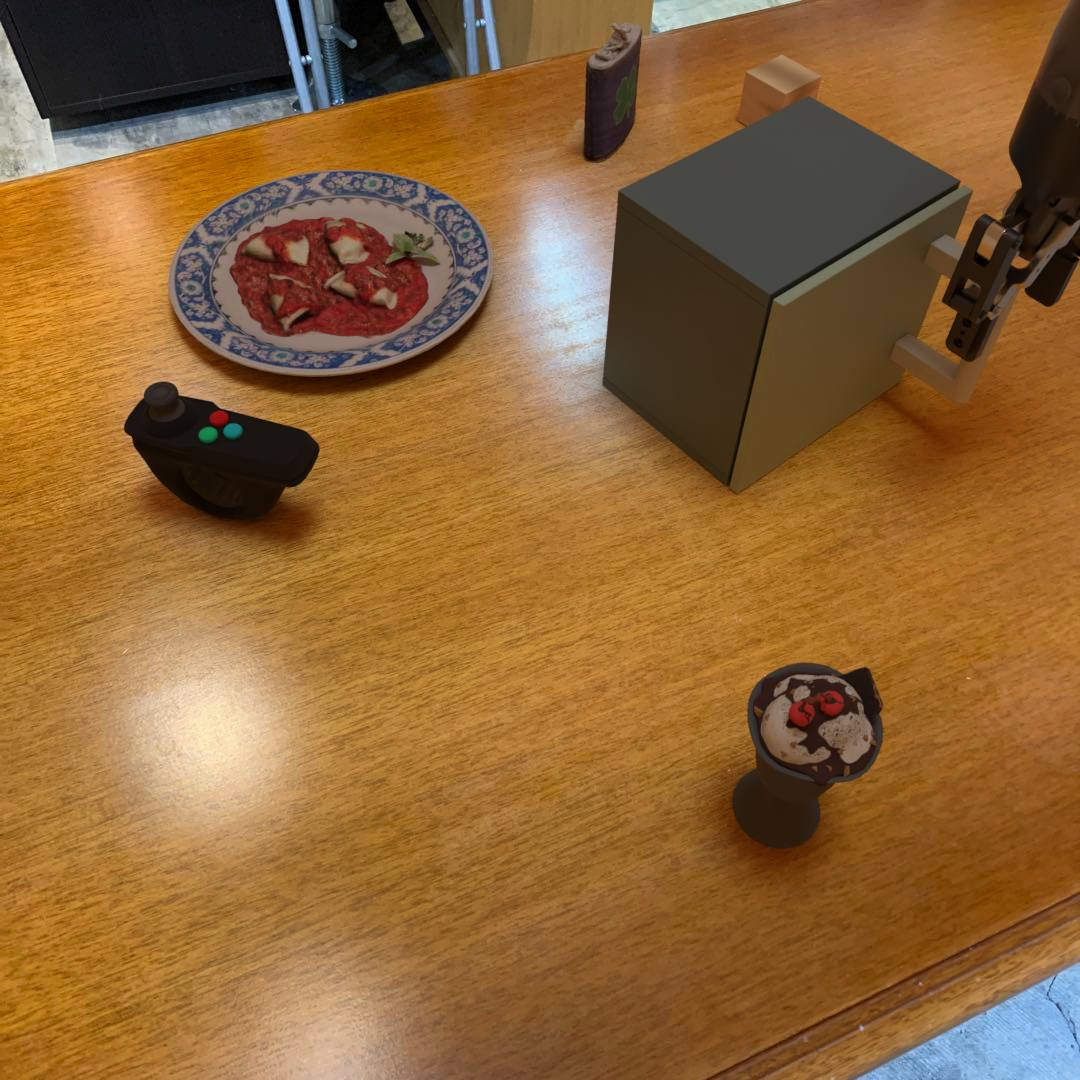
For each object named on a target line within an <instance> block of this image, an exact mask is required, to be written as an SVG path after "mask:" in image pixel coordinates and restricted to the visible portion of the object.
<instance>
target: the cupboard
mask: <svg viewBox="0 0 1080 1080" xmlns="http://www.w3.org/2000/svg"><path fill="white" fill-rule="evenodd" d="M961 182H962V180H961V179H958V178H957V177H955V176H953V175H952V174H949V173H948V172H946V171H944V170H943V169H941V168H939V167H937V166H936V165H933V164H932V163H930V162H928V161H926V160H924V159H923V158H921V157H919V156H918V155H915V154H914V153H912V152H910V151H908V150H907V149H905V148H903V147H901V146H899V145H898V144H896V143H894V142H892V141H890V140H889V139H887V138H886V137H884V136H881V135H880V134H878V133H876V132H875V131H873V130H871V129H869V128H867V127H866V126H864V125H862V124H860V123H858V122H857V121H855V120H853V119H852V118H849V117H847V116H846V115H844V114H842V113H840V112H839V111H838V110H835V109H833V108H831V107H830V106H828V105H826V104H824V103H823V102H820V101H819V100H818V99H816V100H815V99H814V98H812V97H810V96H807V97H805V98H803V99H801V100H799V101H797V102H795V103H793V104H791V105H789V106H787V107H785V108H783V109H781V110H779V111H777V112H775V113H773V114H771V115H769V116H767V117H765V118H763V119H761V120H759V121H757V122H755V123H753V124H751V125H749V126H745V127H743V128H741V129H738V130H737V131H734V132H733V133H731V134H728V135H727V136H725V137H722V138H721V139H718V140H716V141H715V142H713V143H711V144H708V145H707V146H704V147H703V148H700V149H699V150H697V151H694V152H692V153H691V154H689V155H687V156H685V157H683V158H680V159H678V160H677V161H675V162H673V163H671V164H668V165H667V166H665V167H663V168H661V169H659V170H656V171H655V172H652V173H651V174H649V175H646V176H644V177H642V178H640V179H639V180H637V181H634V182H632V183H630V184H629V185H627V186H624V187H622V188H620V189H618V191H617V200H616V201H617V202H616V203H617V205H616V206H617V207H616V214H615V215H616V217H615V226H614V227H615V228H614V239H613V252H612V263H611V264H612V265H611V276H610V278H611V279H610V287H609V288H610V289H609V301H608V313H607V323H606V335H605V336H606V337H605V348H604V362H603V373H602V376H603V377H602V381H601V382H602V383H601V385H602V387H604V389H606V390H607V391H608V392H610V393H611V394H612V395H613V396H614V397H616V399H618V400H619V401H621V402H622V403H623V404H624V405H626V406H627V407H628V408H629V409H630V410H632V411H633V413H635V414H637V416H639V417H640V418H641V419H643V420H644V421H646V423H647V424H648V425H650V426H651V427H653V428H654V429H655V430H656V431H657V432H658V433H660V434H661V435H662V436H663V437H664V438H666V439H667V440H668V441H669V442H670V443H672V444H673V445H674V446H676V447H677V448H678V449H679V450H681V451H682V452H683V453H684V454H685V455H686V456H688V457H689V458H690V459H691V460H692V461H694V462H695V463H696V464H698V465H699V466H700V467H701V468H703V470H705V471H706V472H708V473H709V474H710V475H711V476H712V477H714V479H716V480H717V481H719V483H721V484H722V485H723V486H725V487H727V486H730V482H731V478H732V474H733V470H734V465H735V461H736V457H737V453H738V448H739V444H740V440H741V436H742V431H743V427H744V423H745V418H746V414H747V410H748V406H749V401H750V397H751V393H752V389H753V384H754V380H755V376H756V372H757V367H758V363H759V359H760V354H761V350H762V346H763V342H764V337H765V333H766V329H767V325H768V320H769V316H770V312H771V308H772V303H773V300H774V299H775V298H777V297H778V296H780V295H782V294H783V293H785V292H787V291H788V290H790V289H792V288H793V287H795V286H797V285H798V284H800V283H802V282H803V281H805V280H807V279H808V278H810V277H812V276H813V275H815V274H817V273H818V272H820V271H822V270H823V269H825V268H827V267H828V266H830V265H832V264H833V263H835V262H837V261H838V260H840V259H842V258H843V257H845V256H847V255H848V254H850V253H852V252H853V251H855V250H857V249H858V248H860V247H862V246H863V245H865V244H867V243H868V242H870V241H872V240H873V239H875V238H877V237H878V236H880V235H882V234H883V233H885V232H887V231H888V230H890V229H892V228H893V227H895V226H897V225H898V224H900V223H902V222H903V221H905V220H907V219H908V218H910V217H912V216H913V215H915V214H917V213H918V212H920V211H922V210H923V209H925V208H927V207H928V206H930V205H932V204H933V203H935V202H937V201H938V200H940V199H942V198H943V197H945V196H947V195H948V194H950V193H952V192H953V191H955V190H957V189H958V188H960V184H961Z"/></svg>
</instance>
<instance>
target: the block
mask: <svg viewBox="0 0 1080 1080" xmlns="http://www.w3.org/2000/svg"><path fill="white" fill-rule="evenodd" d="M821 81H822V75H821V74H819V73H817V72H816V71H813V70H811V69H809V68H807V66H804V65H802V64H800V63H798V62H797V61H794V60H793V59H791V58H789V57H788V56H785V55H784V54H780V55H778V56H776V57H774V58H771V59H769V60H768V61H765V62H763V63H761V64H759V65H756V66H754V67H753V68H750V69H748V70H746V71H745V74H744V80H743V87H742V92H741V98H740V104H739V109H738V115H737V122H739V123H741V124H742V125H744V126H745V127H747V126H749V125H751V124H753V123H755V122H757V121H759V120H761V119H763V118H765V117H767V116H769V115H771V114H773V113H775V112H777V111H779V110H781V109H783V108H785V107H787V106H789V105H791V104H793V103H795V102H797V101H799V100H801V99H803V98H805V97H807V96H810V97H812V98H814V99H815V100H818V99H817V98H818V94H819V89H820V87H821Z"/></svg>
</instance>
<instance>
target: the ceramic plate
mask: <svg viewBox="0 0 1080 1080" xmlns="http://www.w3.org/2000/svg"><path fill="white" fill-rule="evenodd" d="M493 273H494V251H493V247H492V244H491V241H490V239H489V236H488V233H487V231H486V229H485V227H484V226H483V225H482V223H481V222H480V220H479V219H478V218H477V217H476V216H475V215H474V214H473V212H472V211H471V210H470V209H468V208H467V207H466V206H465V205H464V204H463V203H462V202H460V201H459V200H458V199H456V198H454V197H453V196H451V195H449V194H448V193H446V192H444V191H443V190H440V189H438V188H436V187H435V186H432V185H430V184H428V183H425V182H423V181H419V180H416V179H413V178H409V177H406V176H403V175H399V174H393V173H389V172H382V171H378V170H360V169H359V170H357V169H335V170H333V169H332V170H331V169H330V170H319V171H309V172H302V173H298V174H294V175H290V176H286V177H285V176H284V177H281V178H277V179H273V180H271V181H267V182H263V183H260V184H258V185H256V186H253V187H251V188H249V189H246V190H245V191H242V192H241V193H238V194H236V195H234V196H232V197H230V198H228V199H227V200H224V201H222V202H221V203H220V204H218V205H217V206H216V207H214V208H213V209H212V210H211V211H209V212H208V213H206V214H205V215H204V216H203V217H201V219H199V220H198V221H197V222H195V224H194V225H192V227H191V228H190V229H189V231H188V232H187V233H186V234H185V236H184V237H183V238H182V240H181V241H180V243H179V245H178V246H177V248H176V250H175V252H174V253H173V256H172V259H171V262H170V266H169V270H168V279H167V281H168V282H167V285H168V287H167V288H168V295H169V298H170V303H171V305H172V308H173V310H174V312H175V315H176V317H177V318H178V320H179V321H180V322H181V324H182V326H184V327H185V329H186V330H187V332H188V333H189V334H190V335H192V336H193V338H195V339H196V340H197V341H198V342H199V343H201V344H202V345H203V346H204V347H206V348H207V349H209V350H210V351H212V352H214V353H215V354H217V355H219V356H221V357H223V358H225V359H227V360H229V361H231V362H234V363H236V364H240V365H241V366H244V367H248V368H252V369H253V370H254V369H255V370H258V371H262V372H267V373H271V374H277V375H286V376H293V377H294V376H295V377H311V378H312V377H336V376H347V375H353V374H360V373H365V372H370V371H374V370H378V369H383V368H386V367H389V366H393V365H395V364H396V365H397V364H399V363H402V362H404V361H406V360H409V359H411V358H414V357H416V356H418V355H421V354H423V353H425V352H427V351H429V350H430V349H432V348H435V346H437V345H439V344H441V343H442V342H444V341H445V340H446V339H447V338H449V337H451V336H452V335H454V334H455V333H456V332H458V331H459V330H460V329H461V327H463V326H464V325H465V324H466V323H467V322H468V321H469V320H470V319H471V318H472V317H473V315H474V314H475V313H476V312H477V310H478V309H479V308H480V307H481V304H482V303H483V301H484V299H485V297H486V296H487V293H488V291H489V288H490V285H491V282H492V279H493Z"/></svg>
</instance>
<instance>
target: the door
mask: <svg viewBox="0 0 1080 1080" xmlns="http://www.w3.org/2000/svg"><path fill="white" fill-rule="evenodd" d="M973 193H974V190H973V189H971V188H970V187H969V186H966V185H961V186H959V188H958V189H957V190H955V191H953V192H952V193H950V194H948V195H947V196H945V197H943V198H942V199H940V200H938V201H937V202H935V203H933V204H932V205H930V206H928V207H927V208H925V209H923V210H922V211H920V212H918V213H917V214H915V215H913V216H912V217H910V218H908V219H907V220H905V221H903V222H902V223H900V224H898V225H897V226H895V227H893V228H892V229H890V230H888V231H887V232H885V233H883V234H882V235H880V236H878V237H877V238H875V239H873V240H872V241H870V242H868V243H867V244H865V245H863V246H862V247H860V248H858V249H857V250H855V251H853V252H852V253H850V254H848V255H847V256H845V257H843V258H842V259H840V260H838V261H837V262H835V263H833V264H832V265H830V266H828V267H827V268H825V269H823V270H822V271H820V272H818V273H817V274H815V275H813V276H812V277H810V278H808V279H807V280H805V281H803V282H802V283H800V284H798V285H797V286H795V287H793V288H792V289H790V290H788V291H787V292H785V293H783V294H782V295H780V296H778V297H777V298H775V299H774V300H773V303H772V308H771V312H770V316H769V320H768V325H767V329H766V333H765V337H764V342H763V346H762V350H761V354H760V359H759V363H758V367H757V372H756V376H755V380H754V384H753V389H752V393H751V397H750V401H749V406H748V410H747V414H746V418H745V423H744V427H743V431H742V436H741V440H740V444H739V448H738V453H737V457H736V461H735V465H734V470H733V474H732V478H731V482H730V484H729V489H730V490H731V491H732V492H733V493H735V494H736V495H739V494H740V493H741V492H743V491H744V490H745V489H747V488H748V487H750V486H752V485H753V484H754V483H756V482H757V481H759V480H760V479H761V478H763V477H765V476H767V474H769V473H770V472H772V471H773V470H775V469H776V468H777V467H779V466H780V465H782V464H784V462H787V460H789V459H790V458H792V457H793V456H795V455H796V454H797V453H799V452H800V451H802V450H804V449H805V448H806V447H807V446H809V445H811V444H812V443H813V442H815V441H816V440H818V439H820V437H822V436H824V435H825V434H826V433H828V432H829V431H831V430H832V429H834V428H835V427H836V426H839V424H841V423H842V422H844V421H845V420H846V419H848V418H849V417H851V416H853V415H854V414H855V413H857V412H859V411H860V410H862V409H863V408H864V407H865V406H867V405H869V404H870V403H871V402H873V401H874V400H875V399H877V398H878V397H880V396H881V395H883V394H884V393H885V392H887V391H889V390H890V389H892V388H893V387H894V386H896V385H897V384H898V383H900V382H901V381H902V379H903V378H904V374H905V372H906V371H907V372H908V373H910V374H911V375H913V376H914V377H916V378H918V380H920V381H922V382H923V383H924V384H925V385H928V386H929V387H931V388H932V389H934V390H935V391H937V392H938V393H939V394H941V395H942V396H943V397H945V398H947V399H948V400H950V401H951V402H953V403H955V404H966V403H968V402H969V401H971V397H972V396H973V393H974V391H975V389H976V387H977V385H978V383H979V380H980V378H981V376H982V374H983V372H984V370H985V367H986V365H987V363H988V360H989V359H990V356H991V354H992V352H993V350H994V348H995V345H996V343H997V341H998V339H999V336H1000V335H1001V332H1002V330H1003V328H1004V325H1005V324H1006V321H1007V319H1008V317H1009V315H1010V312H1011V310H1012V308H1013V306H1014V304H1015V302H1016V300H1017V297H1018V295H1019V293H1020V291H1021V289H1022V288H1019V289H1017V290H1016V292H1015V293H1014V294H1013V296H1012V297H1011V299H1010V300H1009V301H1008V303H1007V304H1006V305H1005V307H1004V308H1003V309H1002V312H1001V313H1000V315H999V317H998V319H997V321H996V323H995V326H994V328H993V330H992V332H991V334H990V337H989V339H988V341H987V343H986V345H985V348H984V350H983V352H982V354H981V356H980V357H978V358H977V359H976V360H974V361H973V362H967V361H965V360H963V359H962V358H960V361H959V362H958V364H957V363H956V362H954V361H953V360H951V359H950V358H948V357H947V356H945V355H943V354H942V353H941V352H939V351H938V350H936V349H934V348H933V347H931V346H930V345H929V344H926V343H925V342H924V341H922V340H921V339H919V338H918V337H919V335H920V331H921V329H922V327H923V324H924V321H925V319H926V316H927V314H928V312H929V308H930V307H931V303H932V301H933V298H934V295H935V293H936V290H937V288H938V286H939V285H938V284H939V282H940V280H941V277H942V275H943V276H944V277H946V278H947V279H949V280H951V277H952V275H953V273H954V270H955V268H956V266H957V263H958V261H959V259H960V256H961V254H962V252H963V249H964V247H965V245H966V244H963V243H961V242H960V241H958V240H957V239H956V237H957V235H958V232H959V230H960V228H961V225H962V221H963V219H964V217H965V214H966V211H967V209H968V207H969V203H970V201H971V197H972V196H973ZM1005 282H1006V278H1004V280H1003V283H1002V285H1001V287H1000V289H1001V288H1002V286H1003V285H1004V284H1005ZM980 288H981V287H980ZM1000 289H999V290H1000ZM998 292H999V291H998Z"/></svg>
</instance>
